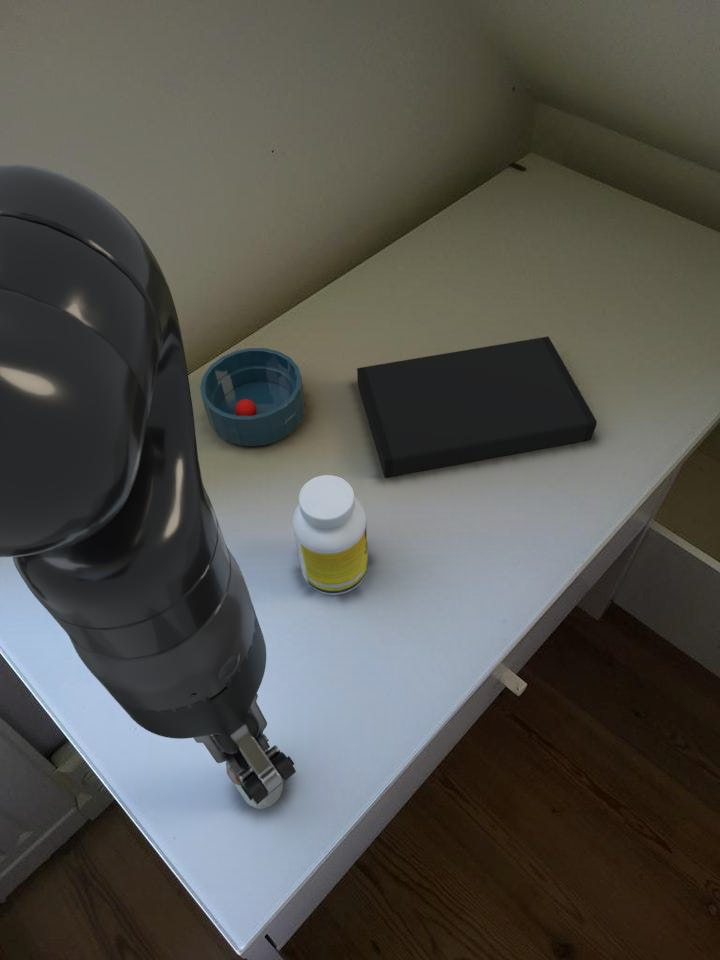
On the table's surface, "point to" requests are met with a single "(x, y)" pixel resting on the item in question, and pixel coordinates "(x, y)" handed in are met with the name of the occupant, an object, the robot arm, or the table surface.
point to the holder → (263, 804)
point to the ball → (245, 408)
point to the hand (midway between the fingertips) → (236, 741)
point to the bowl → (253, 396)
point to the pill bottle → (331, 535)
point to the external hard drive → (472, 405)
